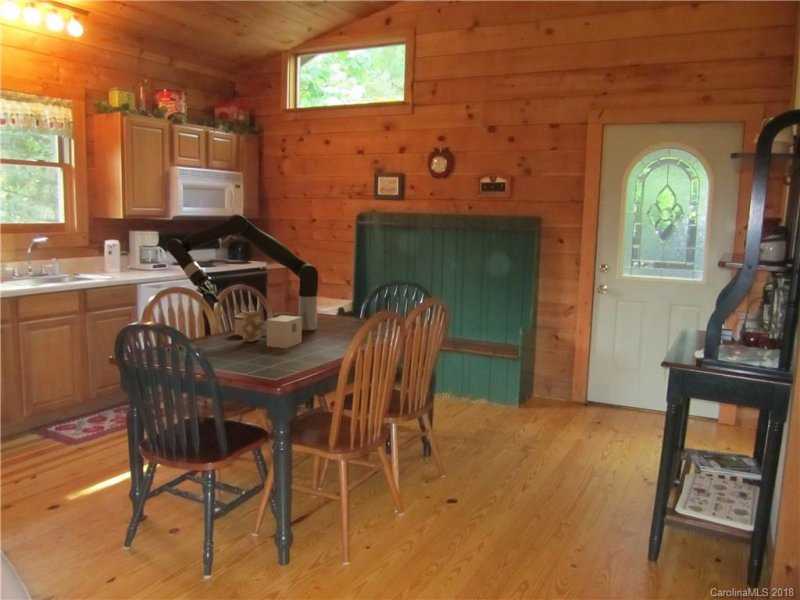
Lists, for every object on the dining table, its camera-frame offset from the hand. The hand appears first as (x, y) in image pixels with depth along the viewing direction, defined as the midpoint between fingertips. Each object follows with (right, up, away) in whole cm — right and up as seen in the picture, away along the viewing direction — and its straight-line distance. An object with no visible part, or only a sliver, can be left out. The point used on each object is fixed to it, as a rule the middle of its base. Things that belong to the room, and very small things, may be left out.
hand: (217, 301), depth 308 cm
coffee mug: (+27, -16, +15) cm, 35 cm away
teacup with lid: (+10, -16, +12) cm, 22 cm away
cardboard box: (+33, -19, -9) cm, 40 cm away
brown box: (+22, -18, -6) cm, 29 cm away
